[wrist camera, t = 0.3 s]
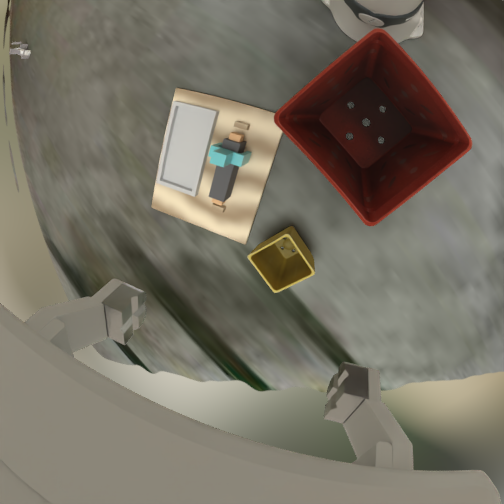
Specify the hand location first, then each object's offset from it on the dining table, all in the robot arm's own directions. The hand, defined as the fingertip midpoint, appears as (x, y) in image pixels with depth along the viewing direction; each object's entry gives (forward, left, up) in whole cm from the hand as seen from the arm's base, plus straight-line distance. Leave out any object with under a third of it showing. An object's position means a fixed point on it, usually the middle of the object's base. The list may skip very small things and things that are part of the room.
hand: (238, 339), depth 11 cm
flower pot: (+17, +1, -46) cm, 49 cm away
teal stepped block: (+3, -14, -45) cm, 47 cm away
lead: (+6, -14, -45) cm, 47 cm away
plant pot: (-10, +6, -46) cm, 48 cm away
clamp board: (+7, -18, -46) cm, 50 cm away
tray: (+5, -24, -45) cm, 51 cm away
